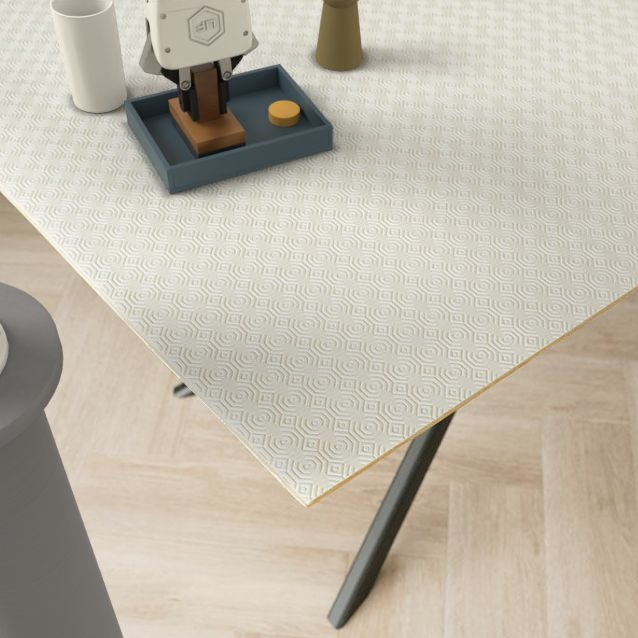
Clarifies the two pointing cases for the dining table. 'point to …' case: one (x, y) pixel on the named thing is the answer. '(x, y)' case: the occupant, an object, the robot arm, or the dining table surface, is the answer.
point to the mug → (91, 53)
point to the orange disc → (284, 113)
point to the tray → (253, 115)
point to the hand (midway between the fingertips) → (205, 110)
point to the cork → (339, 36)
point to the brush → (207, 118)
